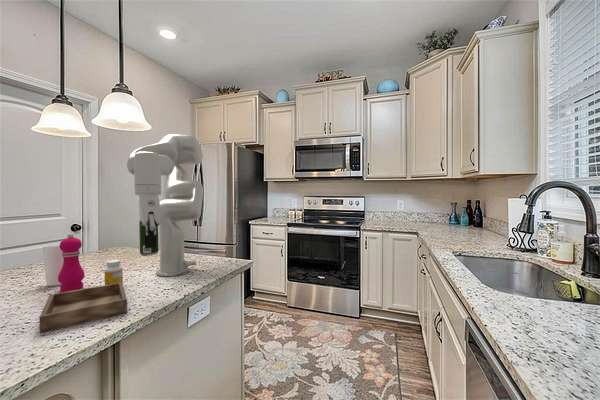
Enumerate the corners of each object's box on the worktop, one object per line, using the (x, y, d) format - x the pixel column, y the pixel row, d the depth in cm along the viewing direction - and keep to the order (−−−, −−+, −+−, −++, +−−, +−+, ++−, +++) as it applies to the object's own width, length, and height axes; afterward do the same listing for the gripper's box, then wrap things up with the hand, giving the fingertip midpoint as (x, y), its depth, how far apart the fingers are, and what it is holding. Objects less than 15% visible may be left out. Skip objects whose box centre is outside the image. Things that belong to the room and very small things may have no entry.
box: (122, 293, 91) (122, 282, 90) (127, 313, 76) (126, 299, 76) (50, 307, 80) (49, 294, 80) (39, 333, 65) (39, 317, 65)
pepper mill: (69, 293, 91) (68, 235, 90) (52, 292, 92) (51, 234, 91) (90, 286, 98) (88, 232, 97) (74, 285, 99) (72, 231, 99)
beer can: (158, 255, 86) (157, 218, 86) (138, 256, 84) (138, 218, 83) (158, 251, 91) (158, 216, 91) (140, 253, 89) (139, 217, 88)
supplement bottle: (102, 288, 96) (101, 261, 96) (119, 284, 100) (118, 258, 100) (108, 291, 93) (107, 263, 92) (125, 286, 97) (125, 260, 97)
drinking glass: (54, 281, 103) (53, 242, 102) (73, 281, 103) (72, 242, 103) (38, 287, 96) (37, 246, 96) (58, 287, 97) (57, 246, 96)
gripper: (166, 190, 82) (167, 249, 83) (156, 190, 96) (157, 240, 96) (138, 190, 78) (139, 252, 78) (131, 190, 91) (133, 243, 92)
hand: (149, 245), depth 87 cm, fingers closed on beer can, 5 cm apart
